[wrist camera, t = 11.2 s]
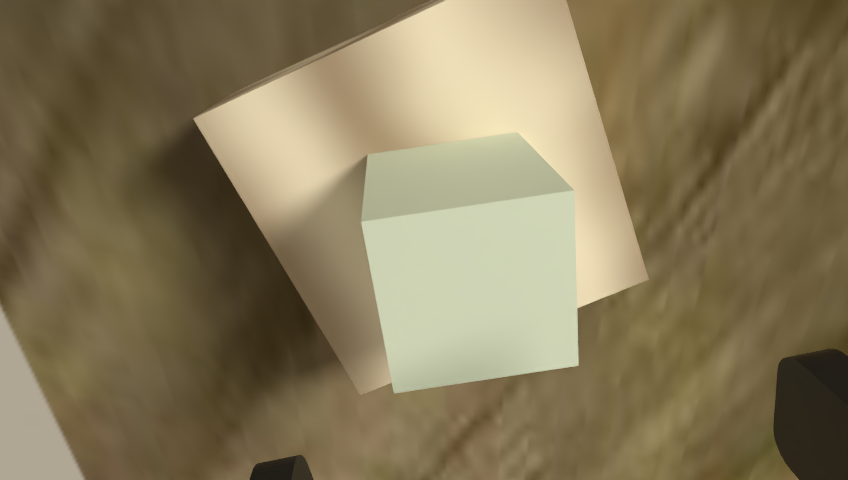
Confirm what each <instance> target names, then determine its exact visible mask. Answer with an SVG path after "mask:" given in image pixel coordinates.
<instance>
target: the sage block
mask: <svg viewBox="0 0 848 480" xmlns="http://www.w3.org/2000/svg"><path fill="white" fill-rule="evenodd" d="M361 224H362V229H363V234H364V240H365V245H366V250H367V255H368V260H369V266H370V271H371V276H372V281H373V286H374V292H375V297H376V302H377V307H378V312H379V318H380V323H381V328H382V333H383V338H384V344H385V349H386V354H387V359H388V364H389V370H390V375H391V380H392V385H393V390H394V393H399V392H406V391H413V390H419V389H426V388H433V387H439V386H446V385H453V384H459V383H466V382H473V381H479V380H486V379H493V378H499V377H506V376H512V375H519V374H526V373H532V372H539V371H546V370H552V369H559V368H566V367H572V366H578V324H577V283H576V241H575V200H574V189H573V188H572V187H571V186H570V185H569V184H568V183H567V182H566V181H565V180H564V179H563V178H562V177H561V176H560V175H559V174H558V173H557V172H556V171H555V170H554V169H553V168H552V167H551V166H550V165H549V164H548V163H547V162H546V161H545V160H544V159H543V158H542V157H541V156H540V155H539V154H538V153H537V151H536V150H535V149H534V148H533V147H532V146H531V145H530V144H529V143H528V142H527V141H526V140H525V139H524V138H523V137H522V136H521V135H520V134H519V133H518V132H516V133H509V134H502V135H496V136H489V137H482V138H475V139H468V140H462V141H455V142H448V143H441V144H434V145H428V146H421V147H414V148H407V149H400V150H394V151H387V152H380V153H373V154H368V156H367V166H366V177H365V187H364V197H363V207H362V217H361Z"/></svg>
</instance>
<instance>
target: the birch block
mask: <svg viewBox="0 0 848 480" xmlns="http://www.w3.org/2000/svg"><path fill="white" fill-rule="evenodd" d="M193 119H194V121H195V123H196V124H197V126H198V128H199V129H200V131H201V133H202V134H203V136H204V137H205V139H206V141H207V142H208V144H209V146H210V147H211V149H212V151H213V152H214V154H215V156H216V157H217V159H218V161H219V162H220V164H221V166H222V167H223V169H224V170H225V172H226V174H227V175H228V177H229V179H230V180H231V182H232V184H233V185H234V187H235V189H236V190H237V192H238V194H239V195H240V197H241V199H242V200H243V202H244V204H245V205H246V207H247V208H248V210H249V212H250V213H251V215H252V217H253V218H254V220H255V222H256V223H257V225H258V227H259V228H260V230H261V232H262V233H263V235H264V237H265V238H266V240H267V241H268V243H269V245H270V246H271V248H272V250H273V251H274V253H275V255H276V256H277V258H278V260H279V261H280V263H281V265H282V266H283V268H284V270H285V271H286V273H287V274H288V276H289V278H290V279H291V281H292V283H293V284H294V286H295V288H296V289H297V291H298V293H299V294H300V296H301V298H302V299H303V301H304V303H305V304H306V306H307V307H308V309H309V311H310V312H311V314H312V316H313V317H314V319H315V321H316V322H317V324H318V326H319V327H320V329H321V331H322V332H323V334H324V336H325V337H326V339H327V340H328V342H329V344H330V345H331V347H332V349H333V350H334V352H335V354H336V355H337V357H338V359H339V360H340V362H341V364H342V365H343V367H344V369H345V370H346V372H347V373H348V375H349V377H350V378H351V380H352V382H353V383H354V385H355V387H356V388H357V390H358V392H359V393H360V395H362V394H365V393H367V392H370V391H372V390H375V389H377V388H380V387H382V386H385V385H387V384H389V383H392V380H391V375H390V370H389V364H388V359H387V354H386V349H385V344H384V338H383V333H382V328H381V323H380V318H379V312H378V307H377V302H376V297H375V292H374V286H373V281H372V276H371V271H370V266H369V260H368V255H367V250H366V245H365V240H364V234H363V229H362V224H361V217H362V207H363V197H364V187H365V177H366V166H367V156H368V154H373V153H380V152H387V151H394V150H400V149H407V148H414V147H421V146H428V145H434V144H441V143H448V142H455V141H462V140H468V139H475V138H482V137H489V136H496V135H502V134H509V133H516V132H518V133H519V134H520V135H521V136H522V137H523V138H524V139H525V140H526V141H527V142H528V143H529V144H530V145H531V146H532V147H533V148H534V149H535V150H536V151H537V153H538V154H539V155H540V156H541V157H542V158H543V159H544V160H545V161H546V162H547V163H548V164H549V165H550V166H551V167H552V168H553V169H554V170H555V171H556V172H557V173H558V174H559V175H560V176H561V177H562V178H563V179H564V180H565V181H566V182H567V183H568V184H569V185H570V186H571V187H572V188H573V189H574V200H575V241H576V283H577V308H579V307H581V306H584V305H586V304H589V303H591V302H594V301H596V300H599V299H601V298H604V297H606V296H609V295H611V294H614V293H616V292H619V291H621V290H624V289H626V288H629V287H631V286H634V285H636V284H639V283H641V282H644V281H646V280H649V279H648V276H647V272H646V269H645V266H644V262H643V259H642V256H641V252H640V249H639V245H638V242H637V239H636V235H635V232H634V228H633V225H632V222H631V218H630V215H629V211H628V208H627V205H626V201H625V198H624V195H623V191H622V188H621V184H620V181H619V178H618V174H617V171H616V167H615V164H614V161H613V157H612V154H611V150H610V147H609V144H608V140H607V137H606V134H605V130H604V127H603V123H602V120H601V117H600V113H599V110H598V106H597V103H596V100H595V96H594V93H593V89H592V86H591V83H590V79H589V76H588V73H587V69H586V66H585V62H584V59H583V56H582V52H581V49H580V45H579V42H578V39H577V35H576V32H575V28H574V25H573V22H572V18H571V15H570V11H569V8H568V5H567V1H566V0H431V1H428V2H426V3H424V4H422V5H420V6H418V7H416V8H414V9H411V10H409V11H407V12H405V13H403V14H401V15H399V16H396V17H394V18H392V19H390V20H388V21H386V22H384V23H382V24H379V25H377V26H375V27H373V28H371V29H369V30H367V31H364V32H362V33H360V34H358V35H356V36H354V37H352V38H350V39H347V40H345V41H343V42H341V43H339V44H337V45H335V46H332V47H330V48H328V49H326V50H324V51H322V52H320V53H318V54H315V55H313V56H311V57H309V58H307V59H305V60H303V61H300V62H298V63H296V64H294V65H292V66H290V67H288V68H286V69H283V70H281V71H279V72H277V73H275V74H273V75H271V76H268V77H266V78H264V79H262V80H260V81H258V82H256V83H253V84H251V85H249V86H247V87H245V88H243V89H241V90H239V91H236V92H234V93H232V94H230V95H228V96H227V97H225V98H223V99H222V100H220V101H219V102H217V103H216V104H214V105H213V106H211V107H210V108H208V109H207V110H205V111H204V112H202V113H201V114H199V115H198V116H196V117H195V118H193Z"/></svg>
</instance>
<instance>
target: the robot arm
mask: <svg viewBox="0 0 848 480" xmlns="http://www.w3.org/2000/svg"><path fill="white" fill-rule="evenodd" d="M774 437H775V441H776V444H777V447H778V449H779V451H780V454H781V456H782V457H783V459H784V461H785V462H786V464H787V465H788V467H789V468H790V469H791V471H792V472H793V473H794V474H795V475H796V476H797V478H798V479H799V480H848V356H847V355H845V354H844V353H842V352H841V351H839V350H836V349H826V350H821V351H816V352H811V353H806V354H801V355H796V356H791V357H787V358H783V359H782V360H781V361H780V363H779V365H778V372H777V386H776V399H775V413H774ZM250 480H313V477H312V474H311V472H310V469H309V467H308V464H307V462H306V460H305V458H304V457H303V456H302V455H297V456H293V457H288V458H283V459H278V460H273V461H268V462H263V463H258V464H256V465H255V467H254V469H253V471H252V474H251V477H250Z"/></svg>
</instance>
